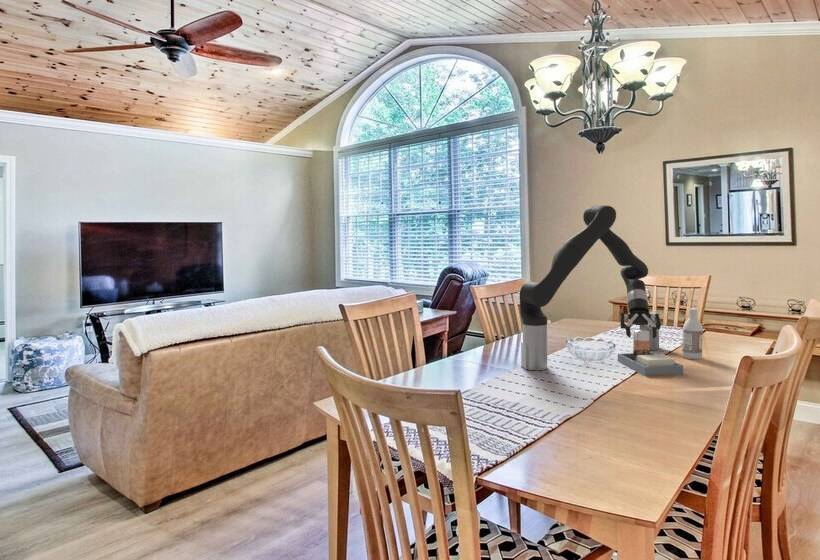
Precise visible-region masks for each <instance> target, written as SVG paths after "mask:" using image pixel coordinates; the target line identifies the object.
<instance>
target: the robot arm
mask: <svg viewBox="0 0 820 560" xmlns="http://www.w3.org/2000/svg"><path fill="white" fill-rule="evenodd" d="M582 217H583V222H584V224H585V225H586V227H585V228H584V229H583V230H581V231H579V232H578V233H576V234H574V235H573V236H571V237H570V238H568V239H567V240H566V241H564V242H563V243H562V244H561V245H560V247H559V248H558V249H557V250H556V252H555V253H554V256H553V258H552V261H551V267H550V269H549V271H548V272H547V274H546V275H545V276H544V277H543V278H542V279H541V280H540V281H539V282H537V281H527V282H525V283H523V284H522V286H521V288H520V291H519V309H520V310H519V311H520V312H519V313H520V316H521V319H522V341H521V342H520V358H521V359H520V366H521V367H522V368H523V369H524V370H527V371H544V370H546V369H547V368H548V317H547V316H546V315H545V313H544V311H542V308H544V307H546V306H547V305H548V304H549V303H550V302H551V301H552V299H553V298H554V296H555V295H556V293H557V291H559V288H560V287H561V285H562V284H563V283H564V281H565V280H566V279H567V278H568V276H569V275H570V274H571V272H572V271H574V269H575V268H576V267H577V266H578V265H579V263H580V262H581V261H582V259H584V257H585V256H586V254H587V253H588V252H589V251H590V249H592V247H593V246H594V245H595V244H596V242H598V240H600V241H601V242H602V244H604V246H605V247H606V248H607V249H608V251H609V252H610V253H611V255H612V257H613V258H614V259H615V261H616V263H617V264H618V265H619V266H621V267H622V268H621V270H620V276H621V278H622V280H623V282H624V284H625V287H626V292H627V310H628V313H624V312H621V313H620V319H619V321H620V324H619V325H620V329H625V335H626V337H628V338H629V339H630V338H631V335H632V331H631V328H632V327H633V326H640V325H646V326H647V327H649V328H650V329H651V332H652V338H655V337H656V335H657V332H656V330H657V329H658V330H661V327H662V323H661V319H660V315H659V313H658V314H657V313H656V314H655V315H651V314H650V313H649V312H650V308H649V307H650V306H649V301H648V300H649V299H648V295H647V291H646V290H647V289H646V284H645V282H644V281H643V280H641V279H643V278H646V277H647V276H648V275H649V268H648V266H647V264H646V263H645V262H644V261H643V260H641V259H640V258H639V257H638V256H637V255H635V253H634V252H633V251H632V249H631V248H630V246H629V245H628V243H626V241H624V239H622V238H621V237H620V236H618V235H617V234H616V233H615V232H613V230H612V229H611V228H612V226H613V225H614V224H615V222H616V219H617V211H616V209H615V208H614V207H613V206H611V205H606V204H605V205H602V204H601V205H591V206H588V207H587V208H586V209H585V210H584V211H583V215H582ZM651 318H652V319H653V320H654V321H655V323H656V325H655V324H654V323H653V322H652V321H651V320H650V319H651ZM625 320H629V321H628V322H627V323H625Z"/></svg>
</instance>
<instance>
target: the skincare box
mask: <svg viewBox="0 0 820 560" xmlns="http://www.w3.org/2000/svg"><path fill="white" fill-rule="evenodd" d="M649 313H650V314H651V315H655V314H656V313H657V314H659V312H655V311H651V312H650V311H649ZM650 320H651V321H652V322H653V323H654V324H655V325H656V323H655V321H654V320H653V319H652V318H651V319H650ZM639 329H647V330H650V351H654V350H655V351H657V350H658V349H659V348H660V331H659V330H660V329H659V330H658V329H657V330H656V332H657V335H656V337H655V338H652V332H651V329H650V328H649V327H647V326H646V325H639Z"/></svg>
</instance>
